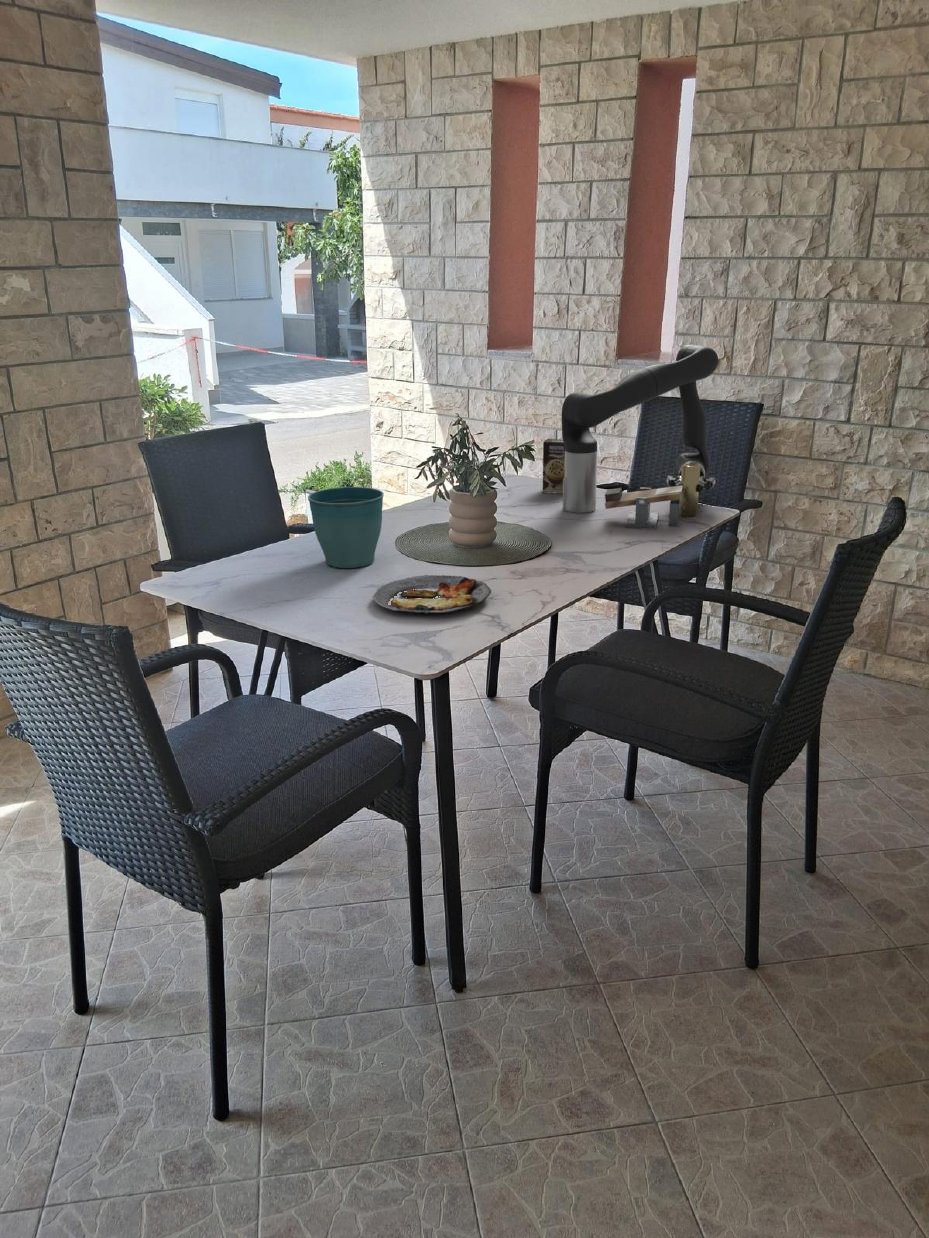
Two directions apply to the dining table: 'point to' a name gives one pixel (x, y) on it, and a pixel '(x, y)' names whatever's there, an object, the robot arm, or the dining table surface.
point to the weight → (689, 490)
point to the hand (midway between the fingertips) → (689, 488)
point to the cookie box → (553, 465)
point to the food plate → (433, 594)
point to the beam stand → (650, 514)
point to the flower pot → (347, 524)
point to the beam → (654, 495)
